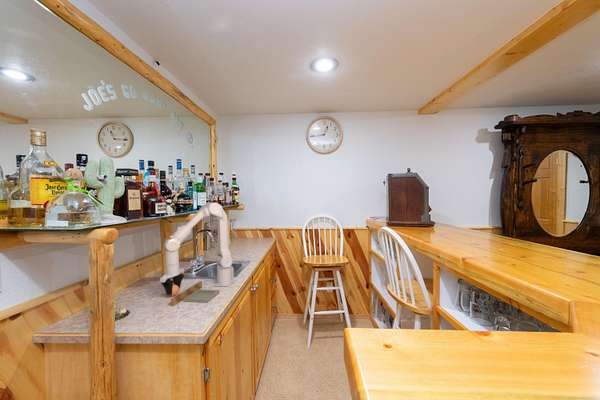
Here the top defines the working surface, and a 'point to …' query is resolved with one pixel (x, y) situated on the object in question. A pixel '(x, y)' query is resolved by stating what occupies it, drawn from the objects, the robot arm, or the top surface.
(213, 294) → the tray
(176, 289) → the ball
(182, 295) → the wooden plank
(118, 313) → the log
